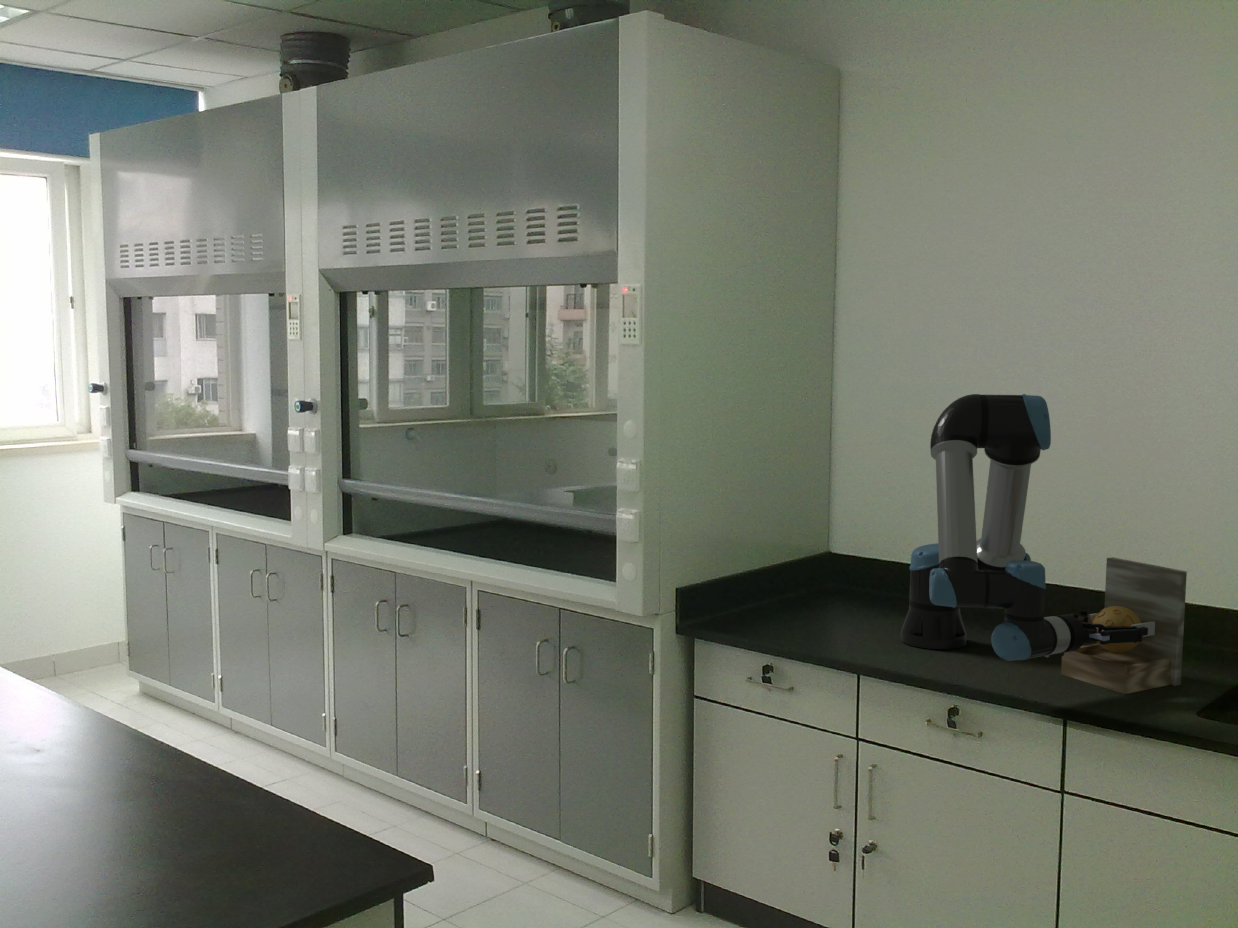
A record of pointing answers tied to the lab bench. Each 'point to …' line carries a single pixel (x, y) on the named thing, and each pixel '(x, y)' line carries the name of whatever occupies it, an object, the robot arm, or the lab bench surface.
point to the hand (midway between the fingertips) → (1131, 622)
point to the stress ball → (1117, 618)
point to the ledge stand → (1157, 655)
